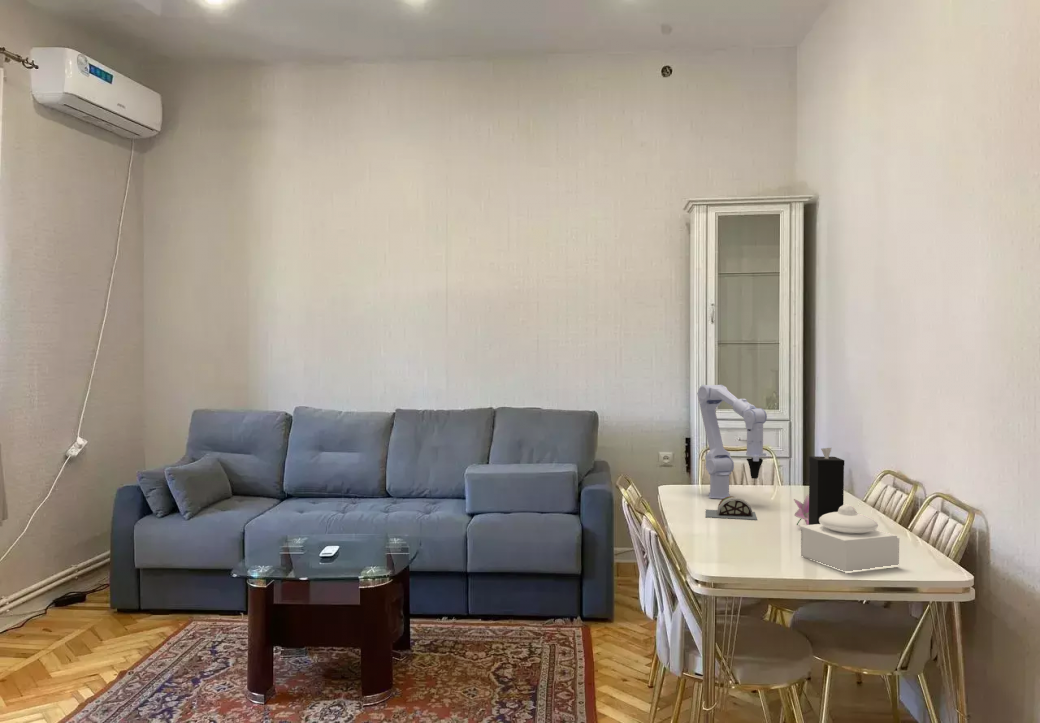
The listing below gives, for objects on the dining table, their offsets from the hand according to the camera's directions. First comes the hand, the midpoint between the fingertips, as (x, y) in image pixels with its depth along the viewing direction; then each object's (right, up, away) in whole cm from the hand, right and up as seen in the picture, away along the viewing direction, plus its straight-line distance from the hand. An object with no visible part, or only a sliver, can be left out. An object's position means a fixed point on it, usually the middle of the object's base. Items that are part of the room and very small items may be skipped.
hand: (754, 478), depth 284 cm
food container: (-11, -7, -8) cm, 15 cm away
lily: (+7, -11, -33) cm, 35 cm away
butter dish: (+3, -12, -73) cm, 74 cm away
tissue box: (+7, -12, -48) cm, 50 cm away
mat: (-13, -11, -15) cm, 22 cm away
